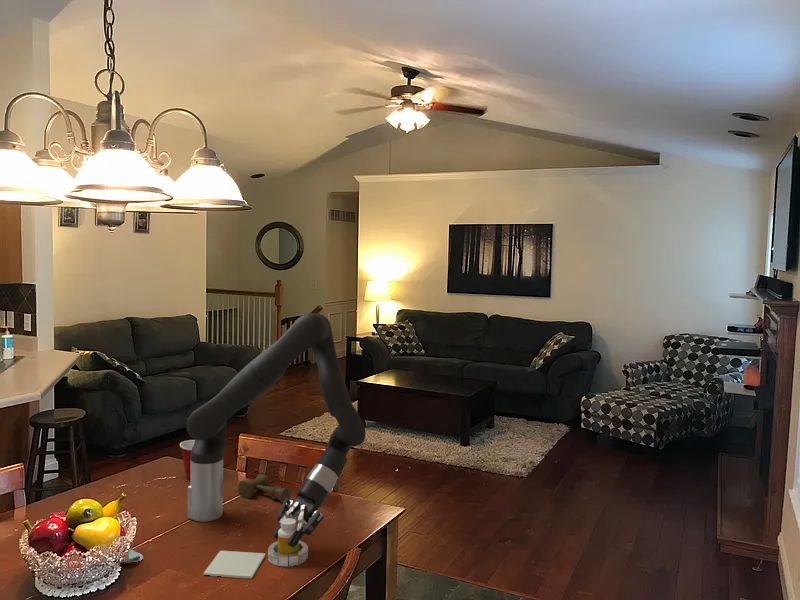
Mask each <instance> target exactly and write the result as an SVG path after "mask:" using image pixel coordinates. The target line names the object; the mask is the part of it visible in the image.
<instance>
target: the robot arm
mask: <svg viewBox="0 0 800 600" xmlns="http://www.w3.org/2000/svg"><path fill="white" fill-rule="evenodd" d="M310 349H311V350H312V352H313V355H314V358H315V361H316V364H317V369H318V377H319V383H320V391H321V393H322V397H323V399H324V403H325V405H326V409H327V410H328V414H329V415H330V416H332V417H333V418H335V419H336V421H337V424H338V425H337V426H336V427H335V428H334V429H333V432H332V433H331V435H330V438H329V440H328V442H327V443H326V444H327V445H326V447H325V449H324V451H323V453H322V454H321V456H320V457H319V459H318V461H317V462H316V464H314V466H313V467H312V469H311V470H310V471H309V472H308V475H307V476H306V478H304V481H303V482H302V484H301V486H300V487H299V489H298V490H297V496H296V497H295V498H294V499H293V500H292V499H288V498H285V499H284V502H283V503H281V506H280V508H279V510H278V512H277V514H276V517H275V518H276V519H277V521H278V522H279V523H278V525H277V526H276V528H275V530H274V531H273V534H272V538H273V539H275V540H277V541H278V531H279V529H280V528H281V521H282V520H283V519H286V518H292V519H295V520H296V521H297V522H298V523H297V525H296V528H297V531H295V532H294V533H293V535H292V537H291V538H290V540H289V541H288V545H289V546H291V547H293V548H294V547H295V546H296V545H297V544H298V542H299V540H300V541H301V538H302V537H303V536H304V535H307V536H310V535H312V534H313V532H314V531H315V530H316V528H317V527H318V526H319V524H321V522H322V521H324V518H325V517H324V515H323V514H322V513H321V512H320V511H319V509H320V508H321V507H322V506H323V504H324V503H325V501H326V500H327V498H328V496H329V495H330V493H331V491H332V490H333V488H334V487H335V485H336V483H337V480H338V478H339V477H340V475H341V473H342V471H343V470H344V468H345V467H346V465H347V462H348V459H347V455H348V453H349V451H350V449H351V448H354V447H358V446H360V445H362V444H363V443H364V441H365V440H366V439H365V438H366V436H367V435H366V434H367V433H366V428H365V425H364V422H363V420H362V418H361V417H360V414H359V413H358V411H357V410H356V408H355V407H354V405H353V403H352V399H351V397H350V393H349V390H348V388H347V385H346V381H345V380H344V376H343V373H342V370H341V367H340V364H339V363H340V362H339V360H338V356H337V352H336V347H335V342H334V336H333V331H332V325H331V322H330V320H329V319H328V318H327V317H326V316H325V315H323V314H321V313H317V312H316V313H311V312H310V313H309V312H308V313H305V314H303V315H301V316H299V317H298V318H297V319H296V320H295V321H294V322H293V323H292V324H291V325H290V327H289V328H287V330H286V331H285V332H284V333H283V334H282V335H281V337H280V338H279V339H278V340H276V341H275V342H274V343H273V344H271V345H270V346H269V347H267V348H266V349H265V350H263V351H262V352H261V353H260V354H258V355H257V356H256V357H255V358H253V359H252V360H251V361H250V362H249V363H248V364H246V365H245V366H244V367H243V368H242V369H241V370H240V371H239V372H238V373H237V374H236V375H235V376H234V377H232V379H230V381H229V382H228V383H227V384H226V385H225V386H224V387H223V388H222V389H221V390H220V391H219V392H218V393H217V394H216V395H215V396H214V397H213V398H211V399H210V400H209V401H206V403H204V404H203V405H201V406H200V407H198V408H196V409H194V410H193V411H192V412H191V414H190V415H189V416H188V419H186V420H187V421H186V431H187V433H188V435H189V436H190V437H191V438H193V440H195V443H194V446H193V448H192V450H191V480H190V484H189V485H188V486H187V519H188V520H189V519H191V520H193V521H195V522H204V523H206V522H211V521H215V520H218V519H221V518H222V516H223V509H224V506H223V502H224V501H223V500H224V494H223V493H224V492H223V491H224V451H225V449H226V442H227V440H226V439H227V421H228V420H229V419H230V418H231V417H232V416H233V415H234V414H236V413H237V412H238V411H240V410H241V409H243V408H244V407H246V406H247V405H249V404H250V403H252V402H254V401H255V400H256V399H258V398H259V397H260V396H261V395H263V394H264V393H265V392H267V391H269V389H270V388H271V387H272V386H273V385H274V384H276V383H277V381H279V380H280V378H281V377H282V376H283V375H284V373H285V372H286V370H287V369H288V368H289V366H290V365H291V364H292V362H293V361H295V360H296V359H297V358H298V357H299V356H301V355H303V353H305V352H306V351H308V350H310Z"/></svg>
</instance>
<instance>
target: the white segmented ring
mask: <svg viewBox="0 0 800 600" xmlns="http://www.w3.org/2000/svg"><path fill="white" fill-rule="evenodd" d="M308 556H309V546H308V544H307V543H306V542H304V541H303V540H301V539H300V540H299V552H298V553H296V554H290V555H283V554H279V553H278V540H277V541H275V542H273V543H271V544H270V545H269V547H268V548H267V560H268V562H269V563H270V564H272V565H274V566H277V567H286V568H290V567H294V566H295V565H296V566H299V565H301V564H304V563H305V562H306V561H307V560H308Z"/></svg>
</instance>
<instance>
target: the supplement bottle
mask: <svg viewBox="0 0 800 600" xmlns="http://www.w3.org/2000/svg"><path fill="white" fill-rule="evenodd" d="M295 531H297V519H296V520H295V519H292V518H286V519H283V520H282V521H281V528H280V529H279V531H278V540H277V541H278V553H279V554H283V555H290V554H296V553H298V552H299V542H298V544H297V545H296V546H295V547H294V548H293V547H291V546H289V545H288V541H289V540H290V538H291V537H292V535H293V533H294V532H295Z"/></svg>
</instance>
